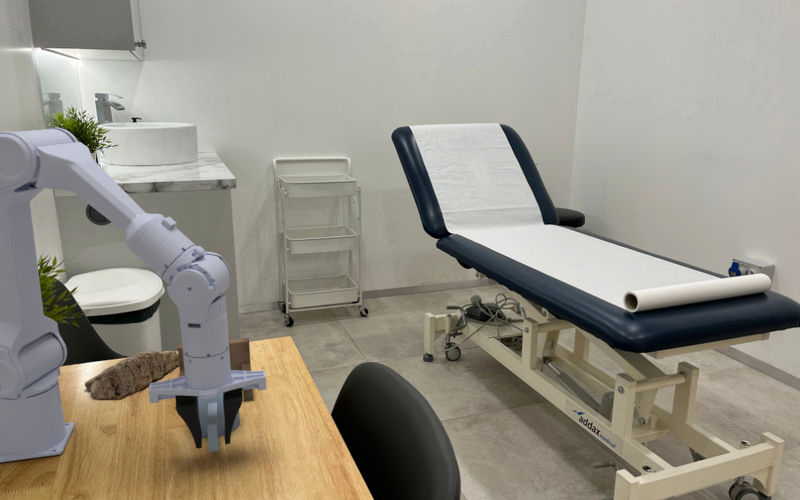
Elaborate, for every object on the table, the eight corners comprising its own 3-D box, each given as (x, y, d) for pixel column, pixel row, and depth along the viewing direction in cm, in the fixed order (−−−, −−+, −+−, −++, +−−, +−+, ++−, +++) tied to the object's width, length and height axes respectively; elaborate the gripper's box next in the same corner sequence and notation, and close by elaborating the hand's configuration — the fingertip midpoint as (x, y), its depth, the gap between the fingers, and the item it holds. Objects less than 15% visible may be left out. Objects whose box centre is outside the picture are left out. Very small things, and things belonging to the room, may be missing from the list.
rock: (122, 406, 95) (118, 373, 94) (71, 396, 98) (66, 364, 97) (183, 366, 109) (180, 336, 108) (136, 358, 112) (133, 329, 111)
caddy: (177, 409, 94) (174, 368, 92) (181, 382, 102) (178, 344, 101) (253, 400, 97) (251, 360, 95) (251, 375, 105) (248, 338, 104)
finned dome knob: (187, 465, 80) (183, 421, 78) (192, 416, 92) (188, 377, 90) (241, 457, 82) (238, 414, 80) (239, 410, 94) (236, 372, 92)
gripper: (141, 368, 72) (152, 467, 75) (265, 355, 76) (270, 450, 79) (148, 345, 78) (158, 437, 82) (262, 334, 82) (267, 423, 85)
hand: (213, 442), depth 81 cm, fingers open, 3 cm apart
